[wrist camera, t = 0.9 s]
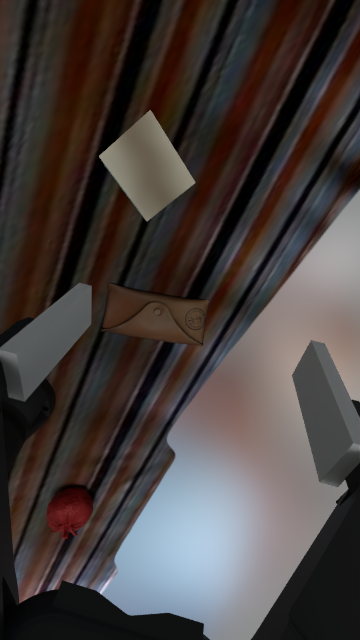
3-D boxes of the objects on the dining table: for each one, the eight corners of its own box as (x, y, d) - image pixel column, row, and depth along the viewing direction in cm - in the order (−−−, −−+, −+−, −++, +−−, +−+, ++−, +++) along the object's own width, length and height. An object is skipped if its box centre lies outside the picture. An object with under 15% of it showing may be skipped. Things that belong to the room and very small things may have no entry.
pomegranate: (47, 485, 65) (30, 529, 57) (88, 478, 65) (77, 521, 56) (62, 510, 69) (47, 554, 61) (101, 504, 69) (92, 547, 61)
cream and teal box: (150, 213, 41) (144, 223, 28) (118, 169, 38) (96, 158, 25) (185, 185, 39) (195, 182, 27) (155, 137, 37) (150, 109, 24)
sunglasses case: (212, 297, 47) (213, 331, 43) (202, 320, 52) (202, 351, 49) (104, 281, 45) (95, 314, 41) (106, 306, 50) (98, 338, 47)
